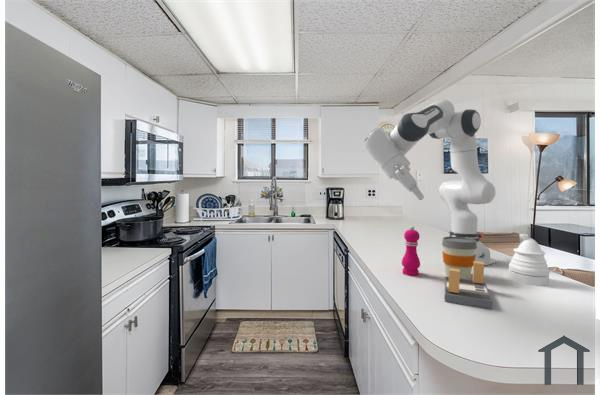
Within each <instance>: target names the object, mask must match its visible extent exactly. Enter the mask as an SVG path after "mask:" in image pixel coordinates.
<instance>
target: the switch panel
mask: <svg viewBox="0 0 600 395" xmlns="http://www.w3.org/2000/svg"><path fill="white" fill-rule="evenodd" d="M448 287H449V276H447V275H445V277H444V302H445V303H450V304H451V303H452V304H458V305H464V306H470V307H476V308H481V309H488V310H493V302H494V301H493V298H492V296H491V294H490V291H489V289H488V286H487V283H486V281H484V280H483V284H481V283H473V279H470V278H469V279H462V278H460V280H459V293H454V292H449V291H448Z"/></svg>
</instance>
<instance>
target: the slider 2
mask: <svg viewBox="0 0 600 395" xmlns="http://www.w3.org/2000/svg"><path fill="white" fill-rule="evenodd" d="M484 270H485V265H484V263H483V262H478V261H473V266H472V280H473V283H481V284H483V281H484V272H485V271H484Z"/></svg>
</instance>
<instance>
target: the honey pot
mask: <svg viewBox="0 0 600 395" xmlns="http://www.w3.org/2000/svg"><path fill="white" fill-rule="evenodd" d="M519 236H520V238H521V239H522V240H523V241H521V243H520V244H519V245H518V247H515V248H513V251H514V254H513V255H512V256H511V260H510V262H509V264H508V275H507V278H508V279H509V280H510V281H512V282H515V283H518V284H519V283H520V284H521V285H528V286H537V287H539V286H540V287H543V286H548V285H549V284H550V269H549V267H548V266H549V265H548V264H547V259H546V258H545V255H546V252H545V251H544V250H542V249H541V246H540V245H539V243H538V242H537V241H536V240H535V239H533V238H532V237H529V234H528V233H520V235H519Z"/></svg>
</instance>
